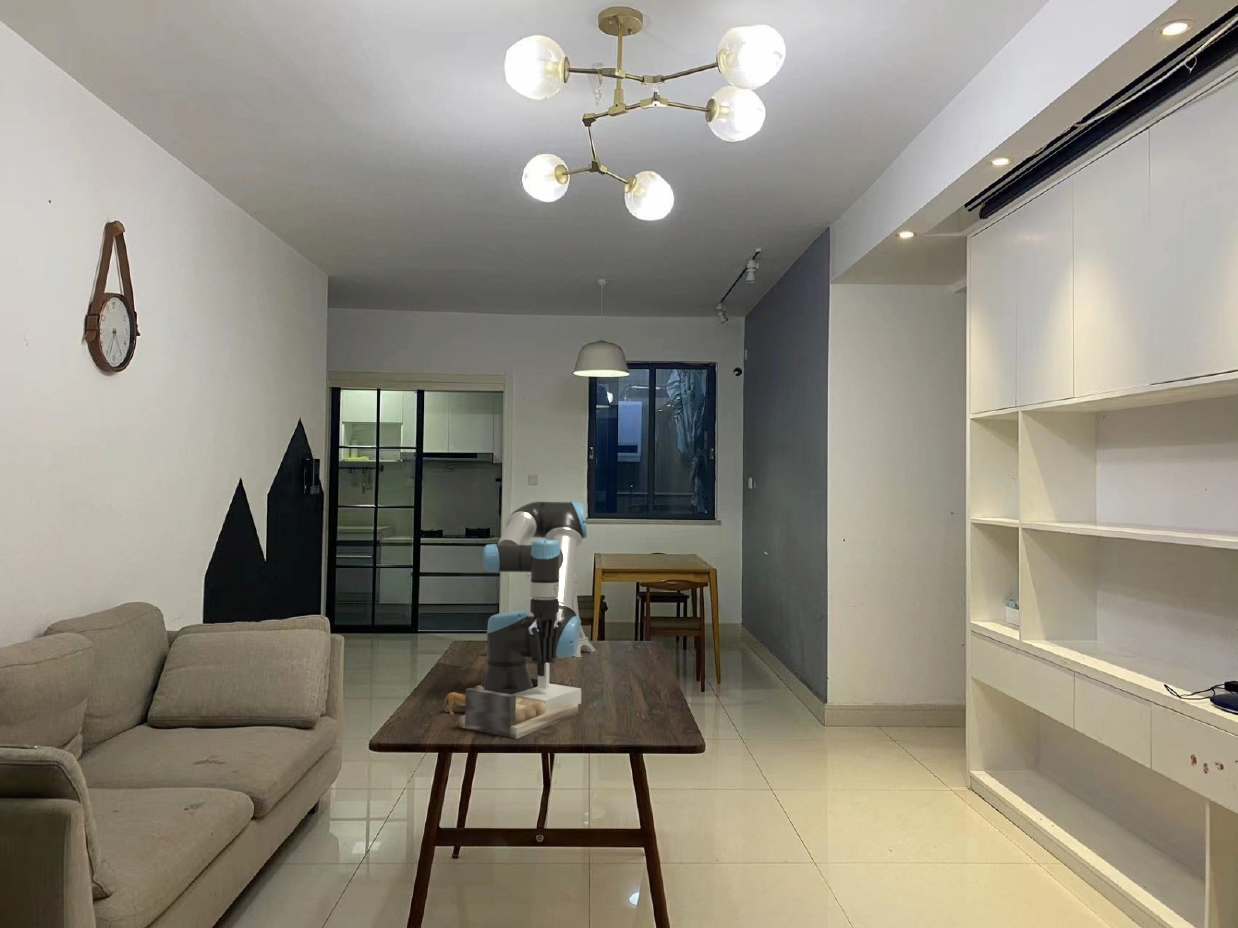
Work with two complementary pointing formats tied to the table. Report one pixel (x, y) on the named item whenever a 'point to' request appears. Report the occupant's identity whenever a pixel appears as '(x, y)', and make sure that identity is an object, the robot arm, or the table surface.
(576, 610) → the eiffel tower
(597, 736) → the table surface
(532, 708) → the roller mid
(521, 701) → the roller rear
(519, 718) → the roller front
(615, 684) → the table surface
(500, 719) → the track
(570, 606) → the robot arm
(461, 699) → the lion figurine
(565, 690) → the slab
